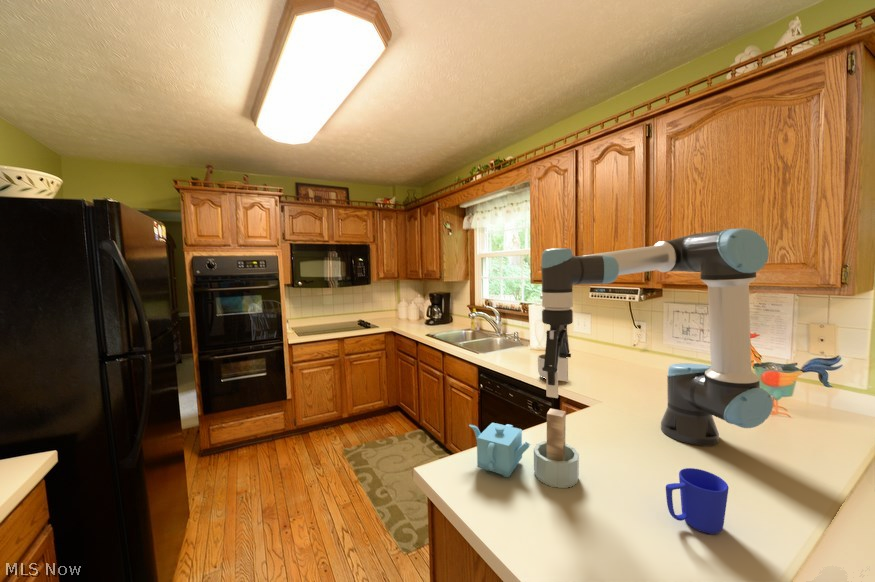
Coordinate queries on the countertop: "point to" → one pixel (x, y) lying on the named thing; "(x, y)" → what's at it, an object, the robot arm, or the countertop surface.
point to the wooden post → (556, 434)
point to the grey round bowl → (556, 467)
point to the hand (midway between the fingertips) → (557, 388)
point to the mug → (700, 499)
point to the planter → (542, 365)
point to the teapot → (499, 448)
